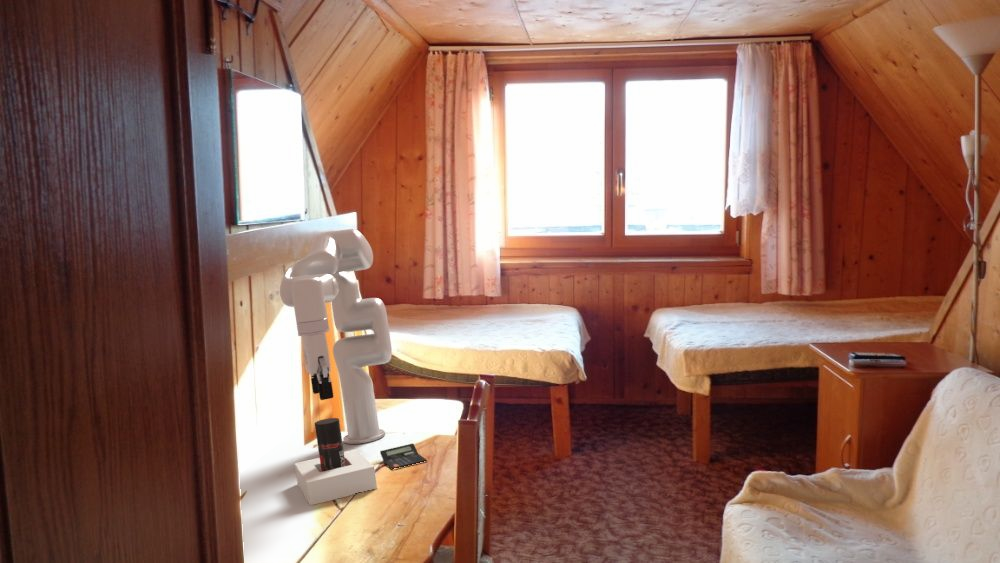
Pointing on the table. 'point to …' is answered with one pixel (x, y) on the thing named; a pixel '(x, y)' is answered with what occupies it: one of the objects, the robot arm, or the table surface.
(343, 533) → the table surface
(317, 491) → the socket board
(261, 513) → the table surface
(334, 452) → the deodorant
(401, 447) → the calculator
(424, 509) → the table surface
